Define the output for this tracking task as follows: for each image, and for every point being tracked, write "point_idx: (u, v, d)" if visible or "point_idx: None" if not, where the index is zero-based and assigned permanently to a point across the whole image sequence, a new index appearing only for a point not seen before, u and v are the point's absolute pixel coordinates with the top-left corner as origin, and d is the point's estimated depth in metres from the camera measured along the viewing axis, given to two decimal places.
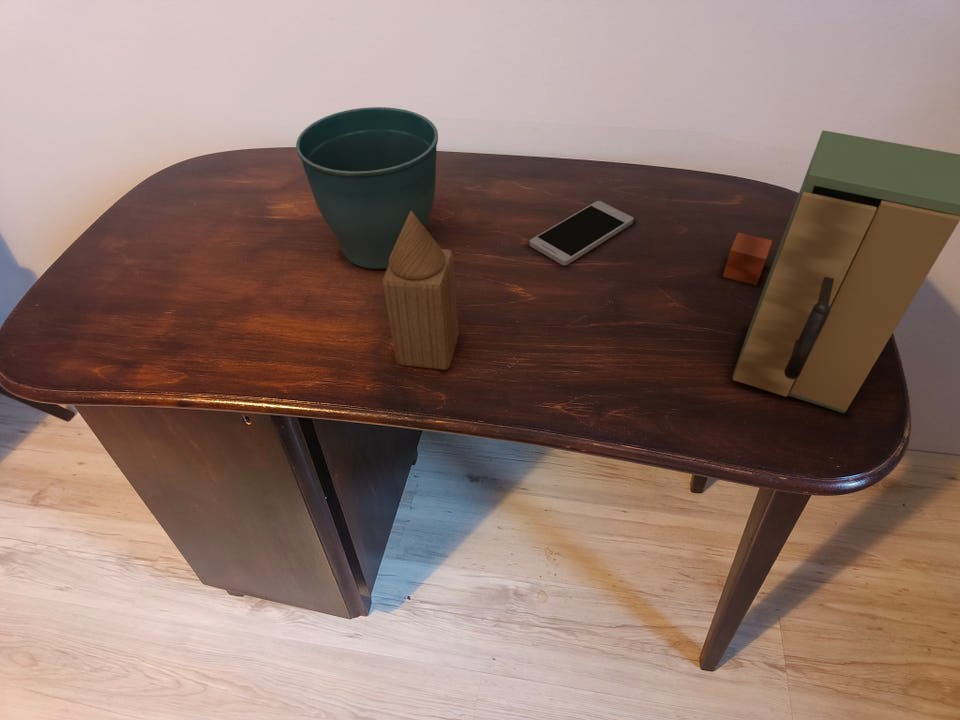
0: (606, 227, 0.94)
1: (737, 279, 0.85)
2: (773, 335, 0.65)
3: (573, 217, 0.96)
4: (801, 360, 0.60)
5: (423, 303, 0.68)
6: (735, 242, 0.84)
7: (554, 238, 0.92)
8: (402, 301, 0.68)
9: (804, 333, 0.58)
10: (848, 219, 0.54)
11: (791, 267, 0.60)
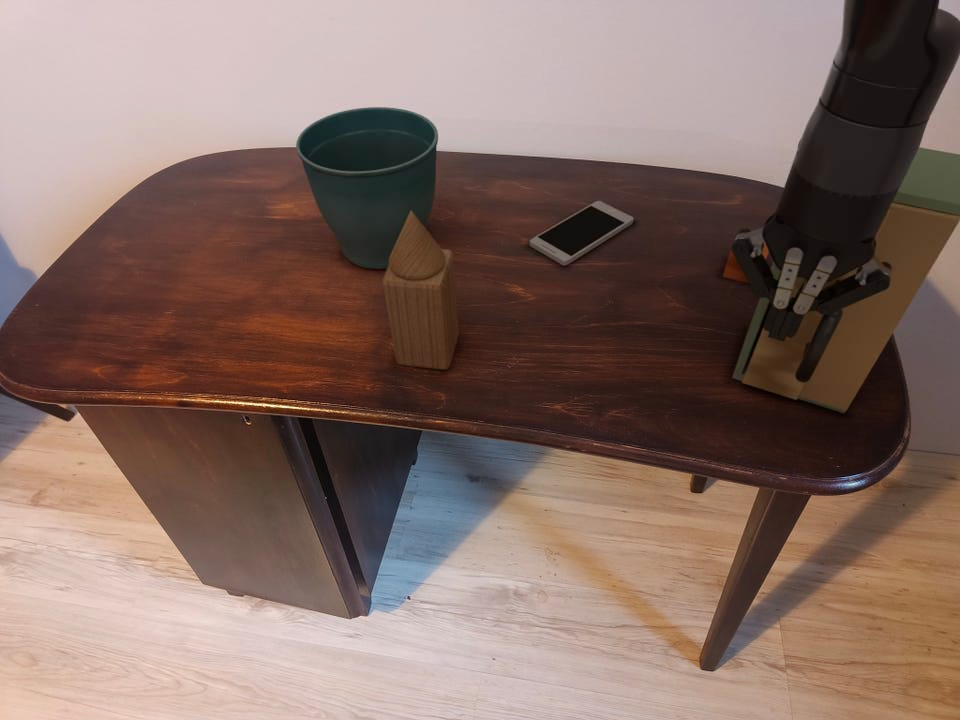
0: (606, 227, 0.94)
1: (737, 279, 0.85)
2: None
3: (573, 217, 0.96)
4: (812, 363, 0.59)
5: (423, 303, 0.68)
6: None
7: (554, 238, 0.92)
8: (402, 301, 0.68)
9: (816, 336, 0.57)
10: None
11: None
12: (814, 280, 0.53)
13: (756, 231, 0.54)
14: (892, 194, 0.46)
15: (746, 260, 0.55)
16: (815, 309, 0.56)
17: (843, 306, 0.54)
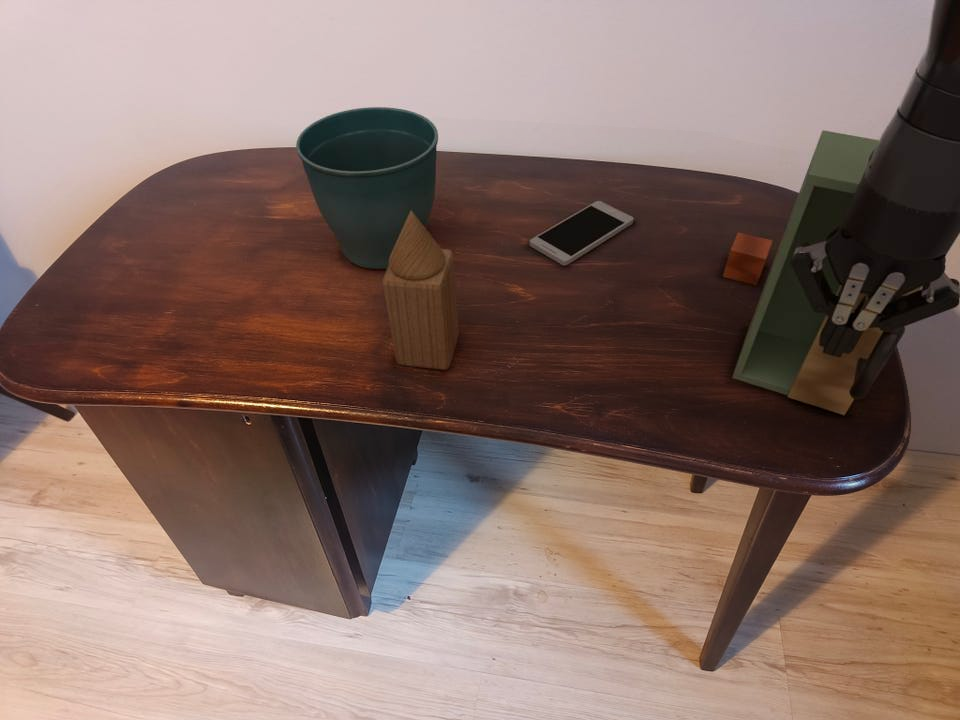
0: (606, 227, 0.94)
1: (737, 279, 0.85)
2: None
3: (573, 217, 0.96)
4: (869, 380, 0.58)
5: (423, 303, 0.68)
6: (735, 242, 0.84)
7: (554, 238, 0.92)
8: (402, 301, 0.68)
9: (875, 353, 0.56)
10: None
11: None
12: (878, 296, 0.51)
13: (817, 245, 0.53)
14: None
15: (806, 275, 0.53)
16: (876, 325, 0.54)
17: (907, 323, 0.52)
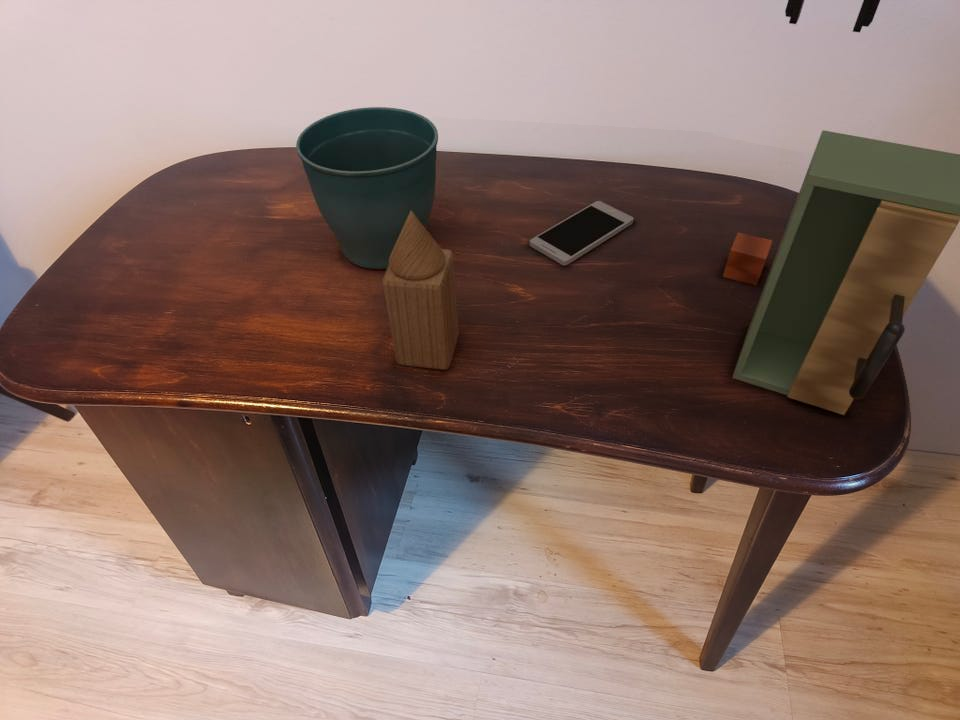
0: (606, 227, 0.94)
1: (737, 279, 0.85)
2: (834, 353, 0.63)
3: (573, 217, 0.96)
4: (869, 380, 0.58)
5: (423, 303, 0.68)
6: (735, 242, 0.84)
7: (554, 238, 0.92)
8: (402, 301, 0.68)
9: (874, 353, 0.56)
10: (925, 236, 0.52)
11: (858, 284, 0.58)
12: None
13: None
14: None
15: None
16: None
17: None
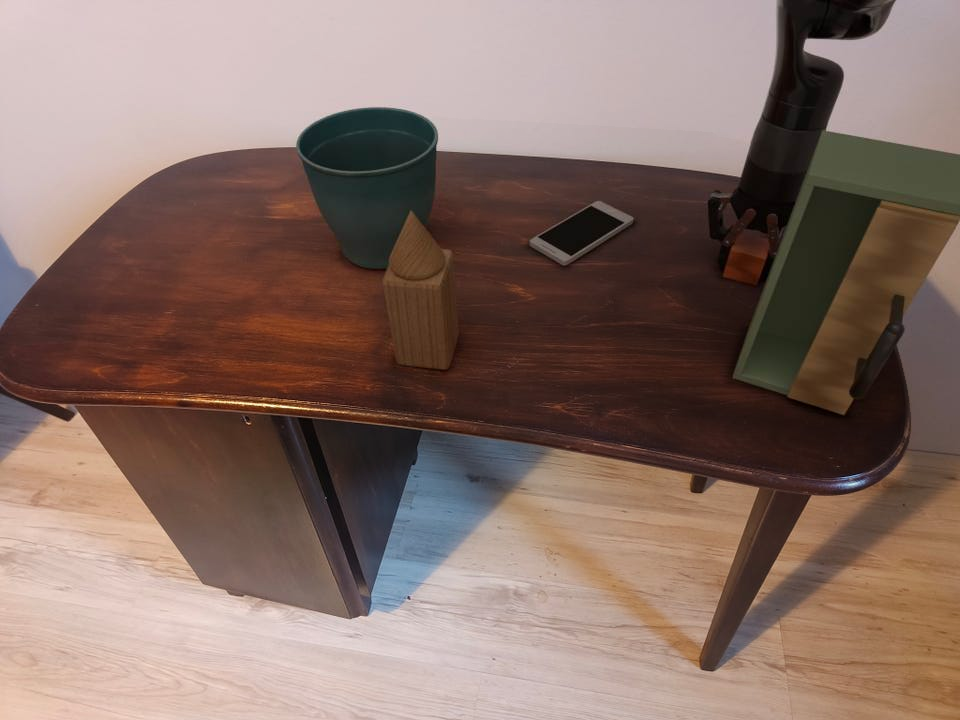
0: (606, 227, 0.94)
1: (737, 279, 0.85)
2: (834, 353, 0.63)
3: (573, 217, 0.96)
4: (869, 380, 0.58)
5: (423, 303, 0.68)
6: (735, 242, 0.84)
7: (554, 238, 0.92)
8: (402, 301, 0.68)
9: (874, 353, 0.56)
10: (925, 236, 0.52)
11: (858, 284, 0.58)
12: (771, 232, 0.80)
13: (726, 194, 0.81)
14: None
15: (714, 212, 0.82)
16: None
17: None
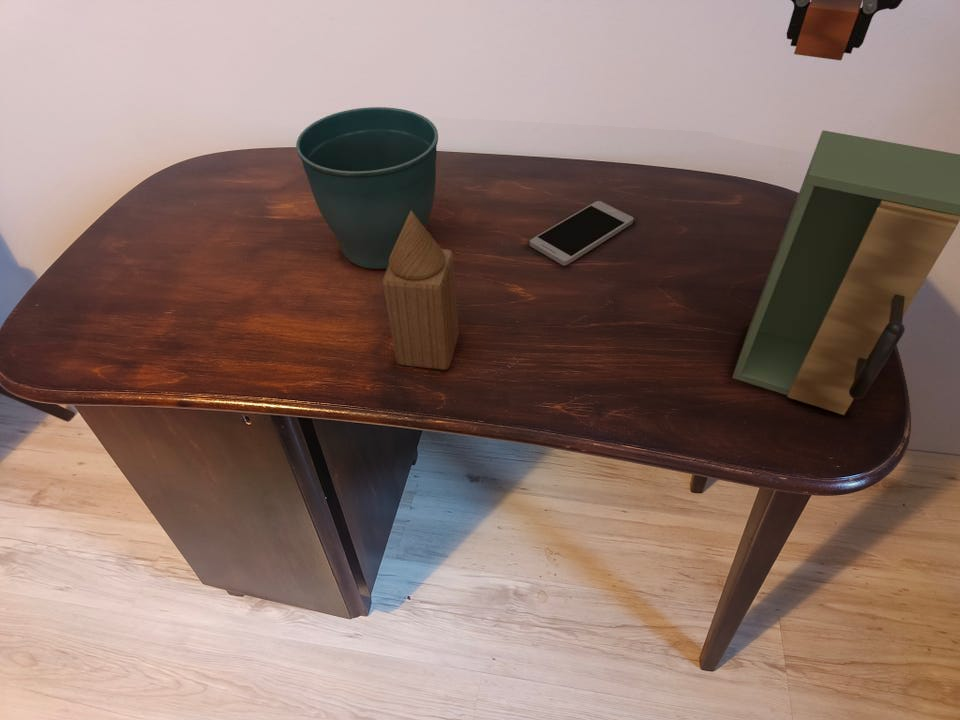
0: (606, 227, 0.94)
1: (814, 54, 0.64)
2: (834, 353, 0.63)
3: (573, 217, 0.96)
4: (869, 380, 0.58)
5: (423, 303, 0.68)
6: (813, 0, 0.63)
7: (554, 238, 0.92)
8: (402, 301, 0.68)
9: (874, 353, 0.56)
10: (925, 236, 0.52)
11: (858, 284, 0.58)
12: None
13: None
14: None
15: None
16: (883, 7, 0.60)
17: None
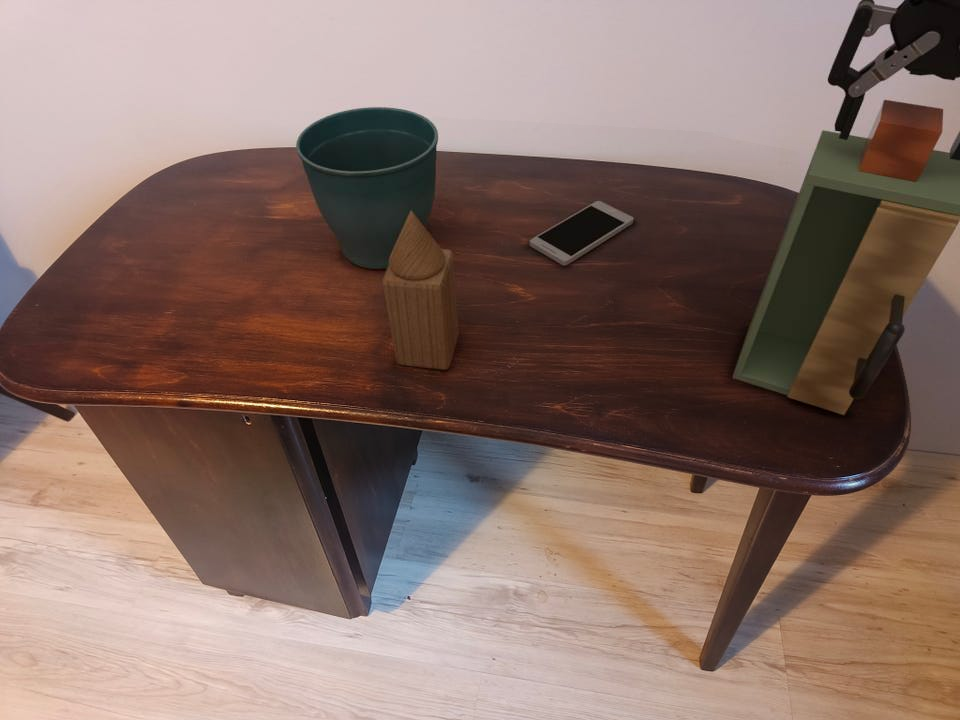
0: (606, 227, 0.94)
1: (884, 173, 0.54)
2: (834, 353, 0.63)
3: (573, 217, 0.96)
4: (869, 380, 0.58)
5: (423, 303, 0.68)
6: (884, 111, 0.53)
7: (554, 238, 0.92)
8: (402, 301, 0.68)
9: (874, 353, 0.56)
10: (925, 236, 0.52)
11: (858, 284, 0.58)
12: None
13: (887, 8, 0.49)
14: None
15: (857, 34, 0.50)
16: None
17: None
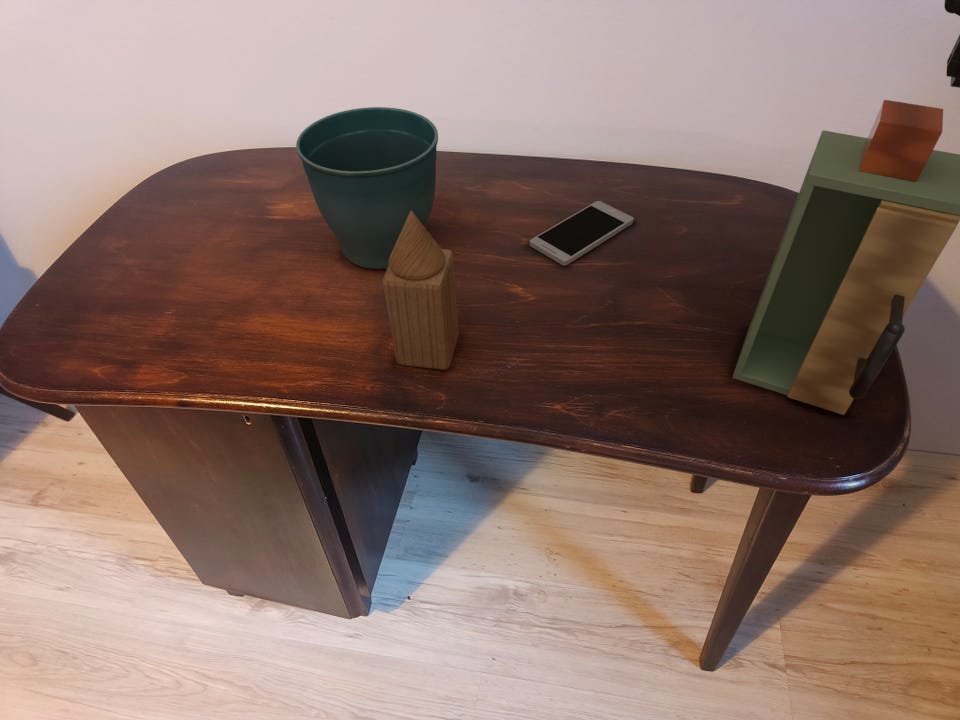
0: (606, 227, 0.94)
1: (884, 173, 0.54)
2: (834, 353, 0.63)
3: (573, 217, 0.96)
4: (869, 380, 0.58)
5: (423, 303, 0.68)
6: (884, 111, 0.53)
7: (554, 238, 0.92)
8: (402, 301, 0.68)
9: (874, 353, 0.56)
10: (925, 236, 0.52)
11: (858, 284, 0.58)
12: None
13: None
14: None
15: None
16: None
17: None
